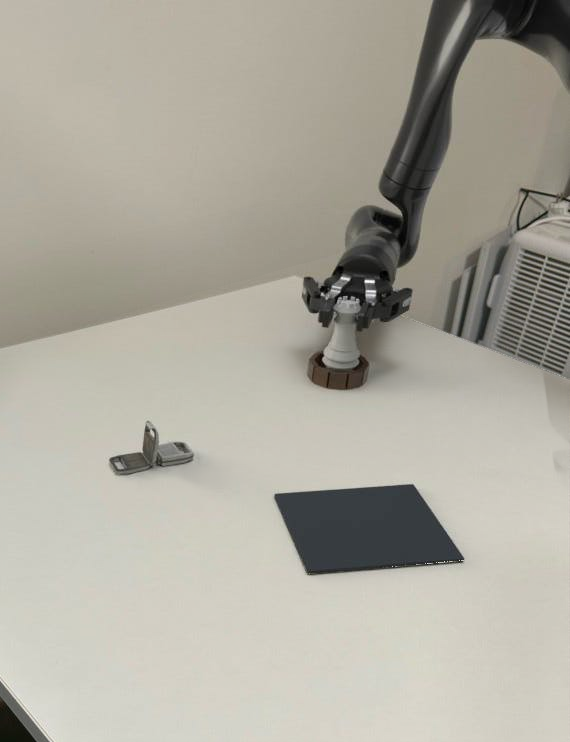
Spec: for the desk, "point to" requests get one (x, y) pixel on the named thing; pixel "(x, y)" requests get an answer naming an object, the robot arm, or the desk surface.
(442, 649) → the desk surface
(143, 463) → the strap clip
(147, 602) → the desk surface
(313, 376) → the brown segmented bracelet
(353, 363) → the rook chess piece
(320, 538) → the mat
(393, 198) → the robot arm
